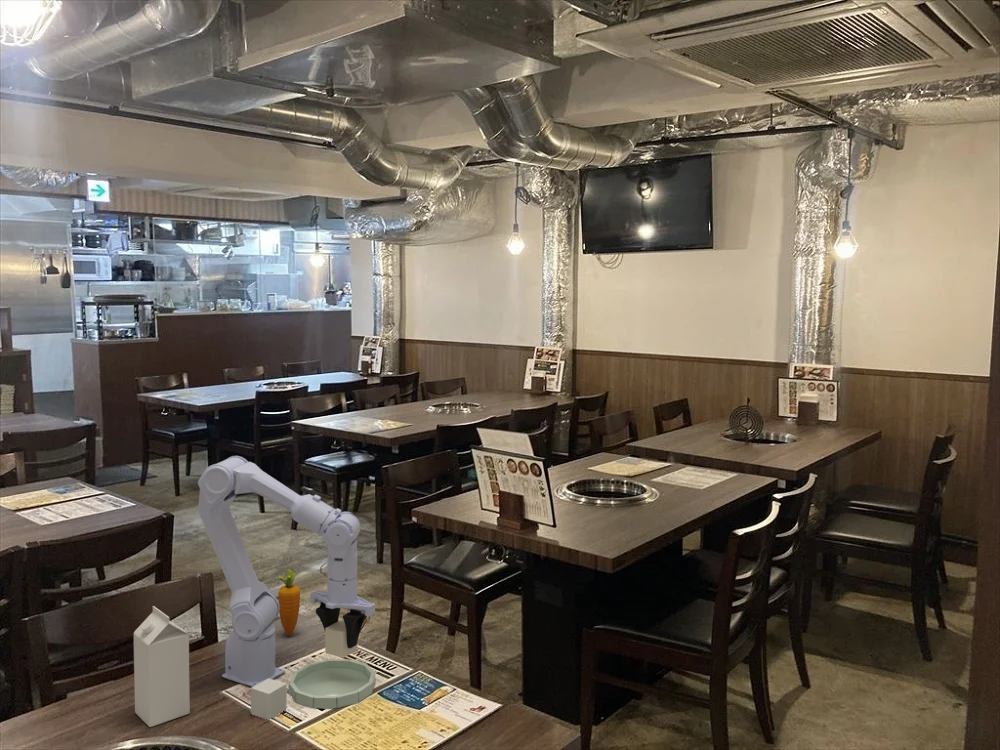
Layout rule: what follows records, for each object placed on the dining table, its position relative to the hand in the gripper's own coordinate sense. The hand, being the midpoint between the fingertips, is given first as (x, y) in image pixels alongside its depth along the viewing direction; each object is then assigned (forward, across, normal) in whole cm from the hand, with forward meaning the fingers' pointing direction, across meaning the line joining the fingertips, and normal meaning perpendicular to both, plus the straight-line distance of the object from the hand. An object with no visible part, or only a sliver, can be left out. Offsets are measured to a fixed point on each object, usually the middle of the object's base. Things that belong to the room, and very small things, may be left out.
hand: (342, 643), depth 154 cm
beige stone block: (+2, 0, 0) cm, 2 cm away
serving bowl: (+8, 0, -3) cm, 8 cm away
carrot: (+8, -24, +11) cm, 28 cm away
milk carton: (+8, -20, -26) cm, 34 cm away
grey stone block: (+8, -4, -16) cm, 18 cm away
